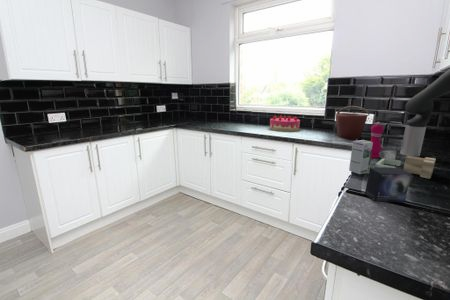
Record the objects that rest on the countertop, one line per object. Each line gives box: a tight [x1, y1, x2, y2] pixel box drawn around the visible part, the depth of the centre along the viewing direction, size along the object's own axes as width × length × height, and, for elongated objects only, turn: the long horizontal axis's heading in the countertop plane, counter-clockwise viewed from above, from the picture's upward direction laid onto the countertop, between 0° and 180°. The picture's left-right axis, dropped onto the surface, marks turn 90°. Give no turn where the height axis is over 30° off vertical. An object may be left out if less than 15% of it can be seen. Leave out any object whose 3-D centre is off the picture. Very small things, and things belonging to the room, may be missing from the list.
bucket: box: [335, 105, 371, 140], centre depth 188 cm, size 24×22×25 cm
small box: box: [364, 166, 412, 203], centre depth 80 cm, size 11×6×10 cm, turn 90°
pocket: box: [374, 157, 402, 168], centre depth 115 cm, size 15×8×2 cm, turn 135°
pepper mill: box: [369, 121, 385, 159], centre depth 132 cm, size 7×7×20 cm
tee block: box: [402, 155, 437, 180], centre depth 107 cm, size 10×10×7 cm
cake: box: [269, 115, 301, 132], centre depth 226 cm, size 28×28×12 cm
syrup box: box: [348, 139, 373, 175], centre depth 106 cm, size 6×6×14 cm
